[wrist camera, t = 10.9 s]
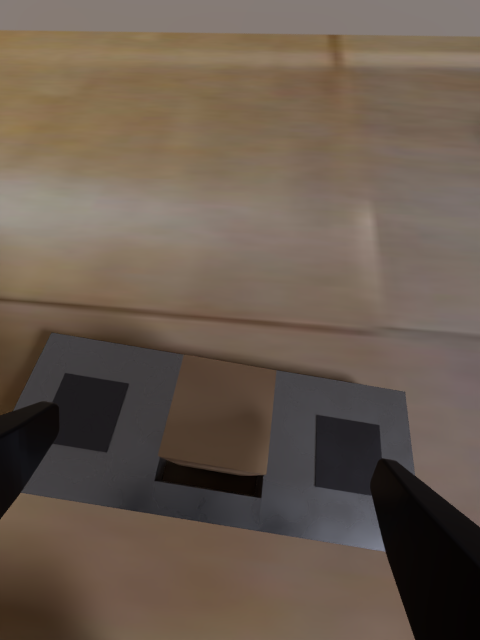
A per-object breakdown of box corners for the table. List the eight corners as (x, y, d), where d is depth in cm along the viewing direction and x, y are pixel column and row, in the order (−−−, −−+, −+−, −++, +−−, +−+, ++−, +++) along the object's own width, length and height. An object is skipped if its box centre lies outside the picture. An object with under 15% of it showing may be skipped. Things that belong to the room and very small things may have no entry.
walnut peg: (241, 476, 20) (266, 475, 11) (181, 465, 20) (157, 456, 11) (249, 414, 22) (276, 370, 13) (194, 404, 22) (183, 354, 13)
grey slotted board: (382, 401, 23) (405, 391, 20) (394, 546, 19) (426, 558, 16) (70, 349, 23) (50, 331, 20) (9, 484, 18) (-25, 485, 16)
